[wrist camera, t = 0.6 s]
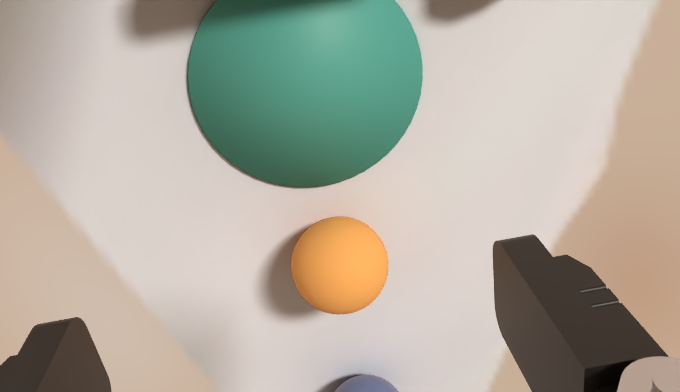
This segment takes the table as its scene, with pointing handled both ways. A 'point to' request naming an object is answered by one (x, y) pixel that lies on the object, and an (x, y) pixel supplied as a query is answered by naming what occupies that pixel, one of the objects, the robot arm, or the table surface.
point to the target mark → (305, 85)
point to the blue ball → (366, 384)
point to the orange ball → (339, 265)
